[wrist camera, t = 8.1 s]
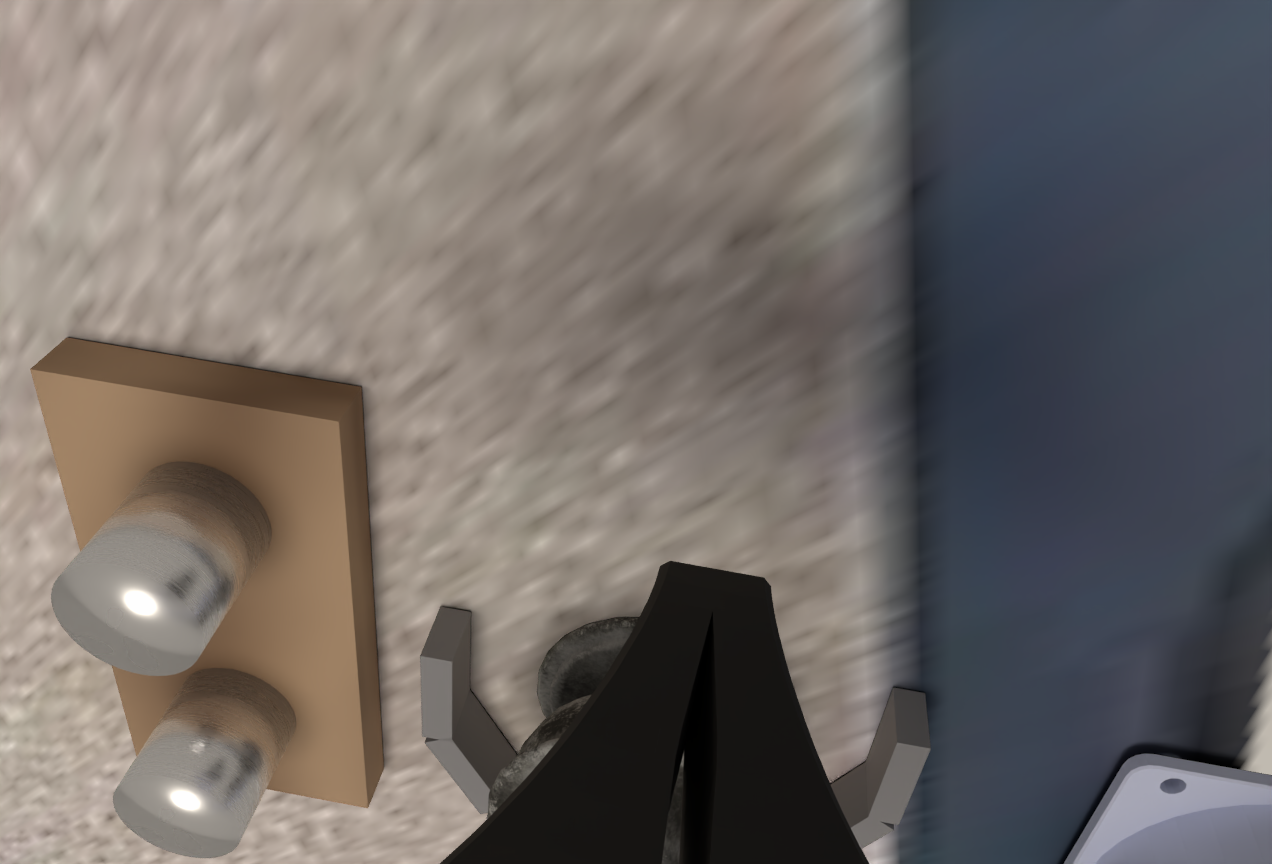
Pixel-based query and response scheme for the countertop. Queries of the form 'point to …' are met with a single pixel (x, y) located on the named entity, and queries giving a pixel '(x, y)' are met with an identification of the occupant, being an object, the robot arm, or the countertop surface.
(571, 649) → the grey stone tall piece
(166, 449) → the pin board
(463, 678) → the segmented grey arc
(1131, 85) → the countertop surface
